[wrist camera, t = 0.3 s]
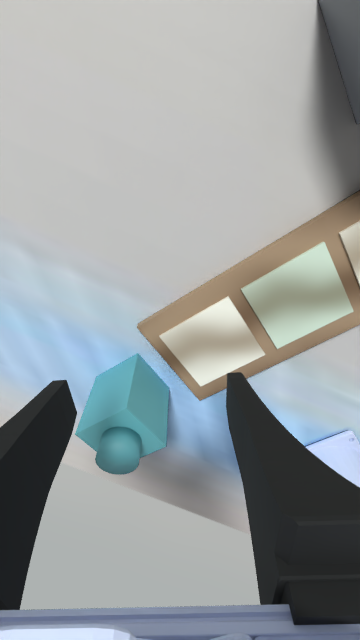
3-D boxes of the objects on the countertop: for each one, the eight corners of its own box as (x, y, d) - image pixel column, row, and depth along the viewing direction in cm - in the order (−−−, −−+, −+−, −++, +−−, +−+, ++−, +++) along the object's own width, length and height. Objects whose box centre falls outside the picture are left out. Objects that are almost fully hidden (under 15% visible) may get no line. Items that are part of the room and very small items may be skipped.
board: (468, 265, 21) (479, 269, 20) (199, 395, 27) (199, 402, 26) (445, 139, 17) (457, 138, 16) (138, 323, 23) (136, 328, 22)
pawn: (169, 387, 26) (165, 467, 20) (129, 407, 27) (112, 489, 21) (137, 353, 24) (122, 428, 18) (96, 376, 26) (67, 455, 19)
